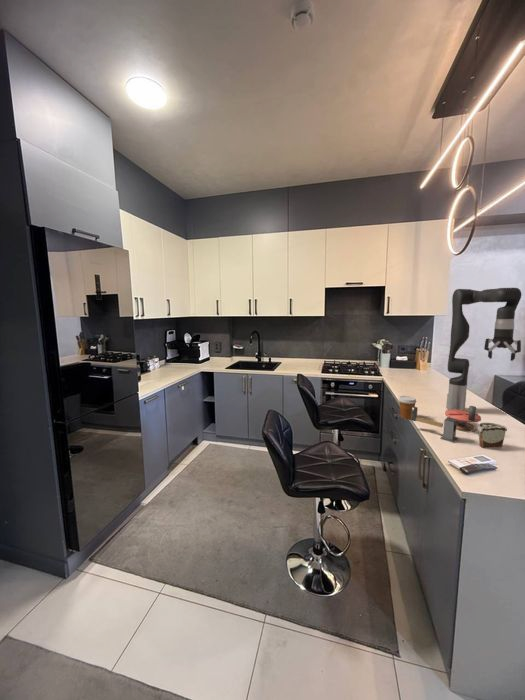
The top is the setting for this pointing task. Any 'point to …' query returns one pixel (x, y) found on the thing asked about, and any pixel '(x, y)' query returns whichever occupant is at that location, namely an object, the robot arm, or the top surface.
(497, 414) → the top surface
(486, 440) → the food container
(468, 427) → the pedestal
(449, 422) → the eye block
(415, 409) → the hook
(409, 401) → the disposable coffee cup
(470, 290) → the robot arm
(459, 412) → the handwheel
